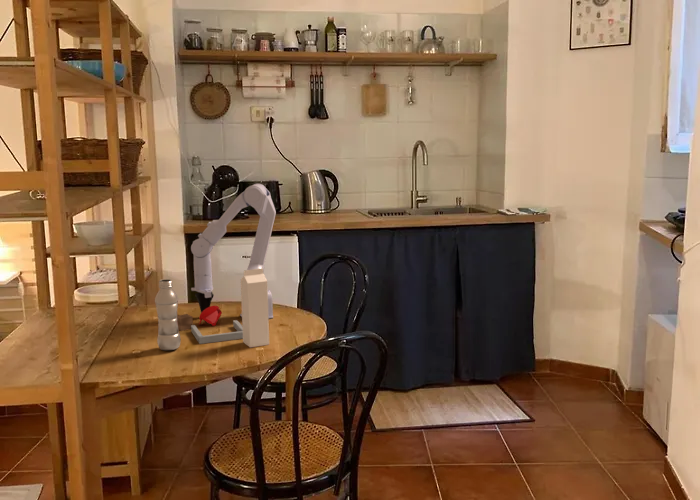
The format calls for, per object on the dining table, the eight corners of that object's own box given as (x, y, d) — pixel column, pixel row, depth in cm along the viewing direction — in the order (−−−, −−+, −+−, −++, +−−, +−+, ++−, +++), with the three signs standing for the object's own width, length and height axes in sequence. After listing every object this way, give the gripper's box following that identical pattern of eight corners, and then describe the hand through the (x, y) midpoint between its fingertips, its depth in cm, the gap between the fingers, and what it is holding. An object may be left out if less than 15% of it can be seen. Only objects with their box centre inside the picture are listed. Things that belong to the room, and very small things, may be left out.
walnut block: (187, 326, 220) (186, 313, 219) (193, 328, 217) (192, 316, 216) (175, 328, 217) (175, 316, 217) (181, 331, 214) (180, 318, 214)
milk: (242, 342, 202) (239, 268, 198) (262, 339, 205) (259, 266, 201) (250, 347, 197) (246, 272, 193) (270, 344, 199) (267, 269, 196)
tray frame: (237, 326, 219) (236, 320, 218) (248, 337, 206) (247, 331, 206) (191, 331, 213) (191, 325, 213) (199, 344, 201) (199, 337, 200)
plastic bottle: (160, 354, 192) (156, 284, 188) (155, 347, 198) (151, 279, 194) (183, 350, 195) (179, 281, 191) (177, 344, 200) (174, 277, 197)
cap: (223, 310, 225) (207, 302, 224) (225, 309, 219) (208, 300, 219) (211, 332, 223) (195, 323, 222) (212, 331, 217) (195, 322, 217)
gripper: (187, 271, 232) (189, 310, 234) (194, 279, 219) (197, 321, 221) (208, 269, 235) (209, 308, 237) (216, 277, 221) (218, 318, 224)
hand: (205, 314), depth 229 cm, fingers closed
